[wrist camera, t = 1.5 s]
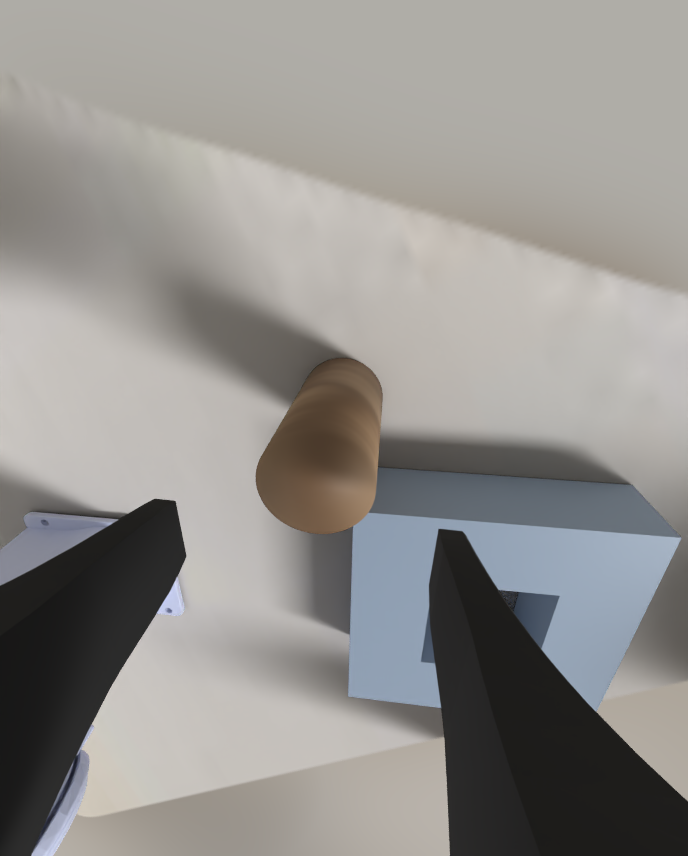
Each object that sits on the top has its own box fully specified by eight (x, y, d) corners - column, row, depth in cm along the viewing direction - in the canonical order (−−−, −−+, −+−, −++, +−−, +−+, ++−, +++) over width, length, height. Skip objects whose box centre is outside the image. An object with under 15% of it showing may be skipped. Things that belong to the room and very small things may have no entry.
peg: (304, 429, 21) (260, 528, 14) (302, 356, 20) (250, 427, 13) (380, 434, 21) (373, 538, 14) (384, 359, 19) (379, 435, 12)
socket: (354, 637, 28) (348, 696, 25) (360, 465, 22) (353, 511, 18) (563, 660, 27) (589, 726, 23) (632, 484, 21) (681, 537, 17)
